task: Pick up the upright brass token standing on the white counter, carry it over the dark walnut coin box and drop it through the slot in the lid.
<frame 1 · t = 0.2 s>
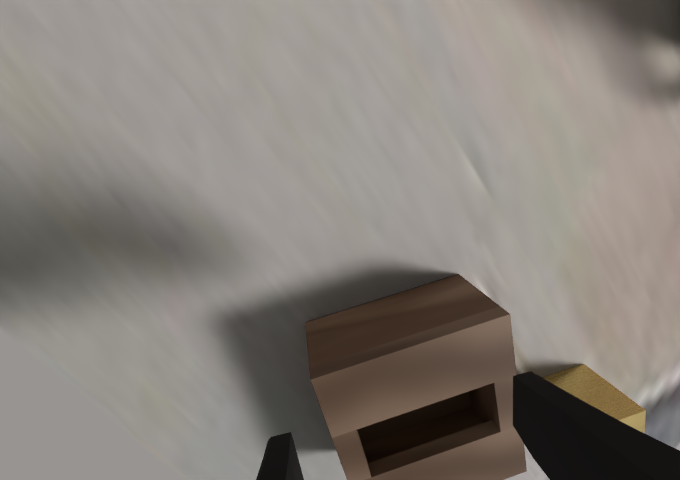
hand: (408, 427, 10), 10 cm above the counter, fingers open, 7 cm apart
token: (553, 384, 24), on the counter
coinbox: (400, 368, 22), on the counter
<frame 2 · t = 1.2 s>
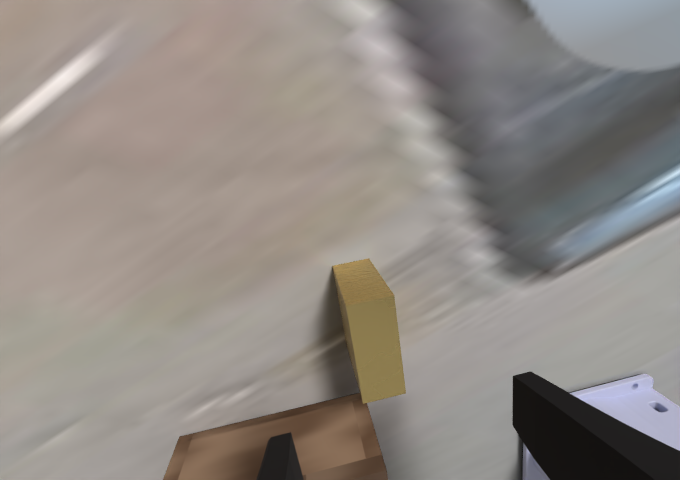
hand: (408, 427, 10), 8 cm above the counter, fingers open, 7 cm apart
token: (357, 303, 18), on the counter
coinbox: (290, 474, 21), on the counter
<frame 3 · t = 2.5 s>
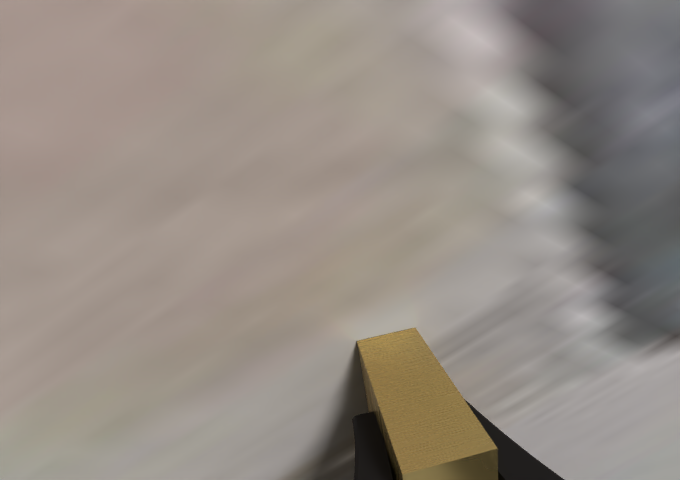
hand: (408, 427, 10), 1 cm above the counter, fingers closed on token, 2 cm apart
token: (394, 394, 11), on the counter, touching gripper
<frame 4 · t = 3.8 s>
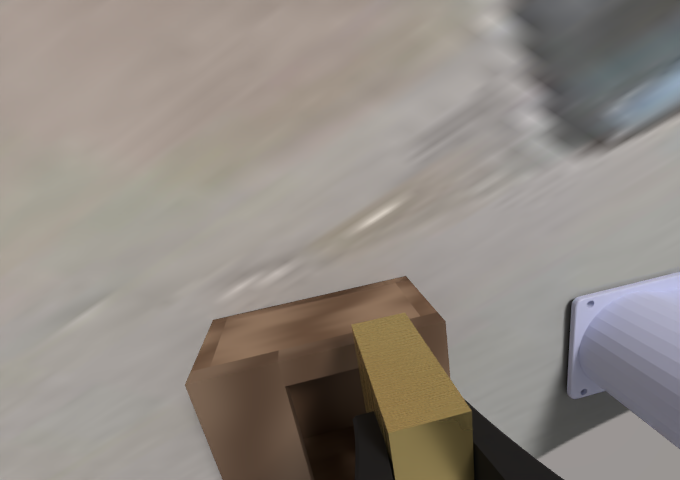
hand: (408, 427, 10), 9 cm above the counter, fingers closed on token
token: (386, 374, 12), point 6 cm above the counter, touching gripper
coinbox: (328, 369, 20), on the counter
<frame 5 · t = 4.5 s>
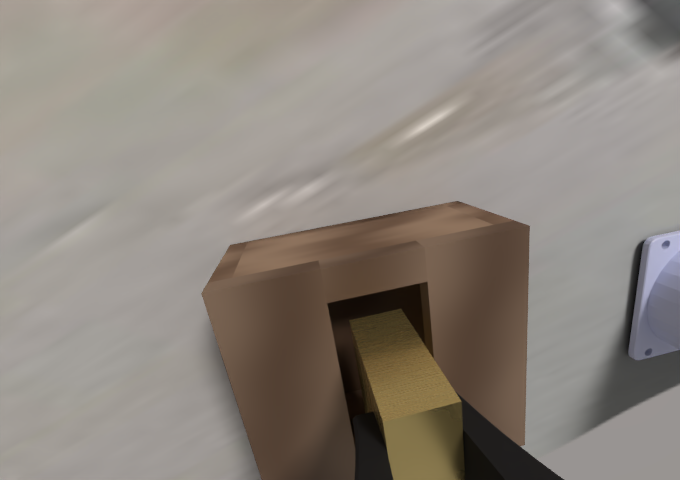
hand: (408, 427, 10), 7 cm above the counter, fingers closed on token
token: (382, 368, 13), point 4 cm above the counter, touching gripper
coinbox: (362, 314, 17), on the counter
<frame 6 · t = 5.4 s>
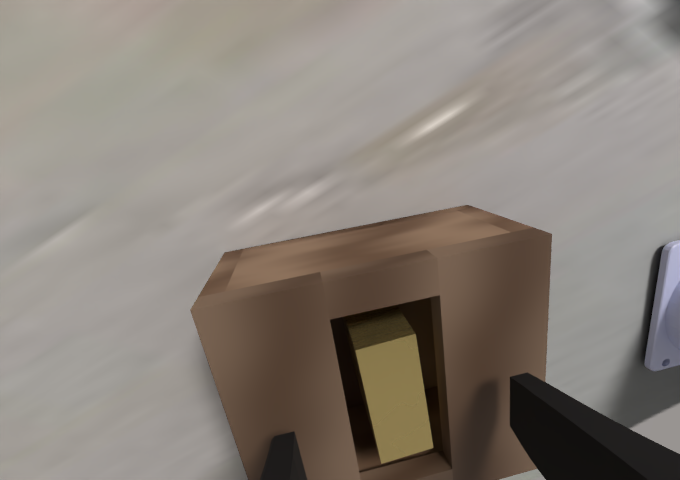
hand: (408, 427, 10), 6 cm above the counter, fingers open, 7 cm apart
token: (367, 330, 15), resting on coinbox
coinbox: (365, 325, 16), on the counter
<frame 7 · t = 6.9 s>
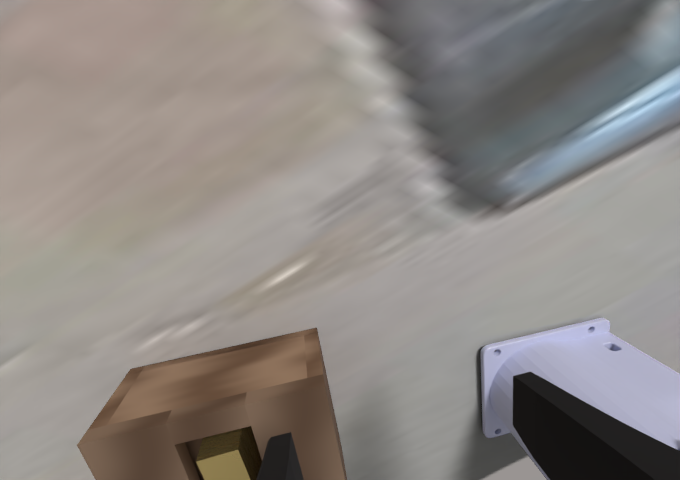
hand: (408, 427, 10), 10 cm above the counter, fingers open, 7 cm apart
token: (244, 418, 20), resting on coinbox
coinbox: (246, 412, 21), on the counter
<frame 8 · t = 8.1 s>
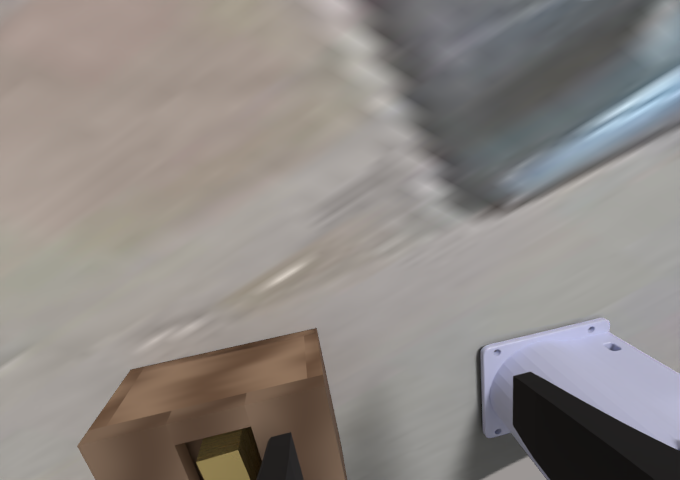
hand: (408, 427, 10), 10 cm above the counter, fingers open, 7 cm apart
token: (245, 419, 20), resting on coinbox
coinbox: (246, 413, 21), on the counter
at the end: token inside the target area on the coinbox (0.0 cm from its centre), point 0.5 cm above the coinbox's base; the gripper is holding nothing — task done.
